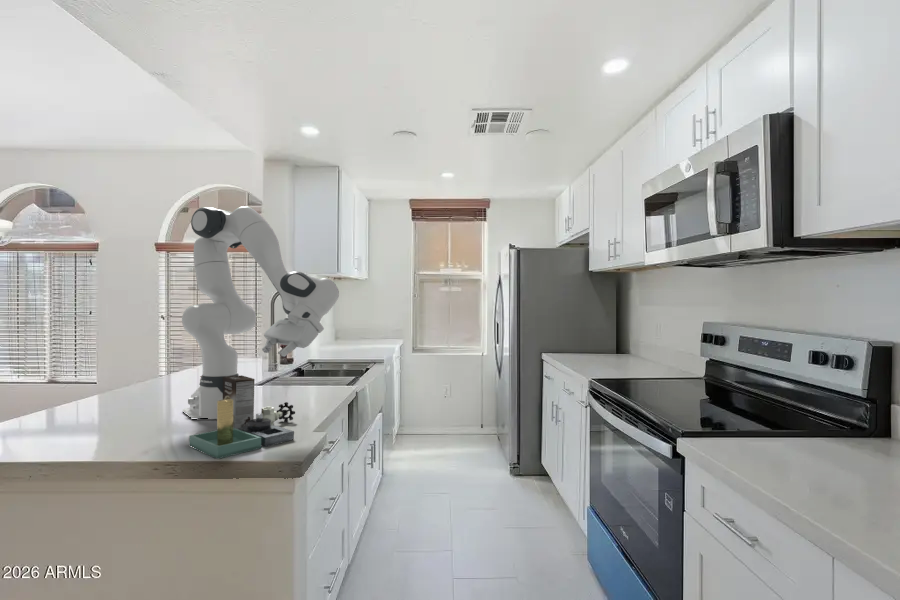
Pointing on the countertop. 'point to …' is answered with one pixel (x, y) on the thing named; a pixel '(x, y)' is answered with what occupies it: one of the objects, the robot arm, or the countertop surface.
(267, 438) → the block
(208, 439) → the tray
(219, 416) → the pin
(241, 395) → the coffee box
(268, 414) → the valve
